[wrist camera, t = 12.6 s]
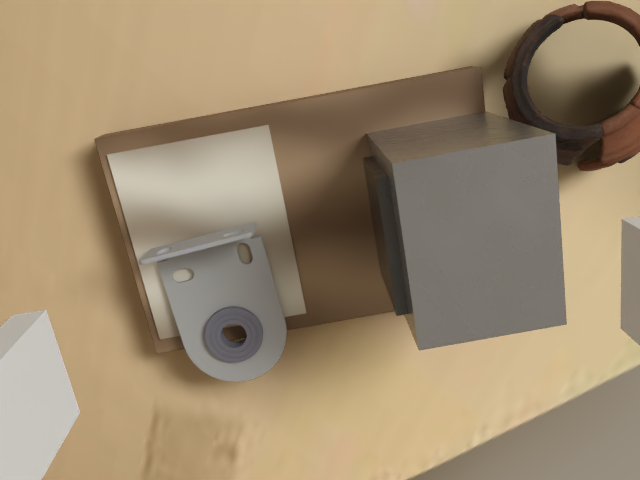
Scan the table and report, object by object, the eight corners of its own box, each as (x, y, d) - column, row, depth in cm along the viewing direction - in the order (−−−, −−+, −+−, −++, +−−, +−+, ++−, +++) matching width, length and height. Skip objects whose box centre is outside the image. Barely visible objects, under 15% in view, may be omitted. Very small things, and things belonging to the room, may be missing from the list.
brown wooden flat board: (104, 134, 37) (93, 139, 35) (471, 66, 36) (481, 67, 34) (163, 339, 41) (156, 354, 39) (492, 280, 40) (502, 292, 38)
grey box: (356, 135, 35) (378, 166, 26) (485, 111, 35) (555, 133, 26) (378, 276, 38) (406, 352, 28) (498, 255, 38) (566, 324, 28)
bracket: (201, 384, 40) (193, 414, 36) (151, 242, 37) (136, 261, 33) (298, 360, 39) (298, 388, 36) (255, 216, 36) (251, 232, 33)
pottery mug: (539, 200, 39) (533, 186, 32) (487, 71, 41) (469, 29, 33) (744, 123, 35) (792, 85, 28) (677, -17, 37) (706, -89, 29)
